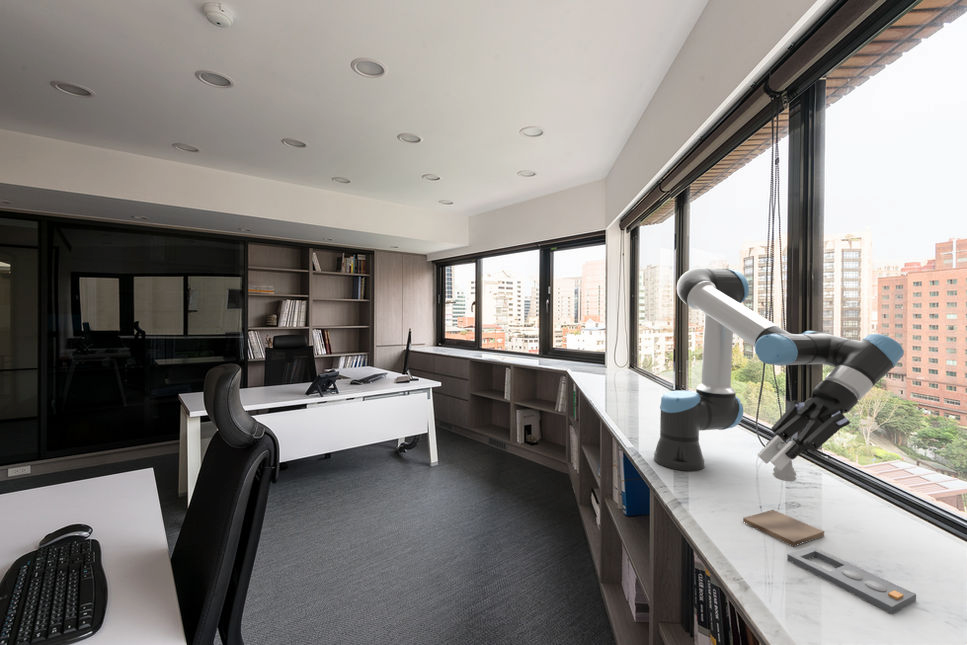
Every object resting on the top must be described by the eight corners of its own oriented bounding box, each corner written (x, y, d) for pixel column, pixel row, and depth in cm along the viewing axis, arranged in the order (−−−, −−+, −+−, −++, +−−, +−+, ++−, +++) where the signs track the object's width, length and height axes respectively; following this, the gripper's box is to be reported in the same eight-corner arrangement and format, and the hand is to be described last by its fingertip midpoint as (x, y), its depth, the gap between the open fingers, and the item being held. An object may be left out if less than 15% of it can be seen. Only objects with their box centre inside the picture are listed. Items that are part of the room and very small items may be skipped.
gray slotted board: (787, 560, 82) (787, 552, 82) (811, 551, 85) (811, 543, 85) (891, 613, 67) (892, 604, 67) (915, 600, 71) (916, 591, 71)
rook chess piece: (789, 483, 90) (791, 447, 90) (768, 476, 94) (769, 442, 94) (800, 479, 93) (802, 445, 92) (779, 472, 96) (780, 439, 96)
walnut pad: (743, 522, 97) (743, 517, 97) (772, 513, 101) (772, 509, 101) (793, 546, 87) (793, 541, 87) (823, 535, 91) (824, 531, 91)
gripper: (888, 410, 86) (809, 489, 85) (819, 394, 102) (753, 460, 102) (865, 385, 85) (786, 464, 85) (800, 373, 101) (733, 439, 101)
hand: (768, 462), depth 93 cm, fingers closed on rook chess piece, 3 cm apart
